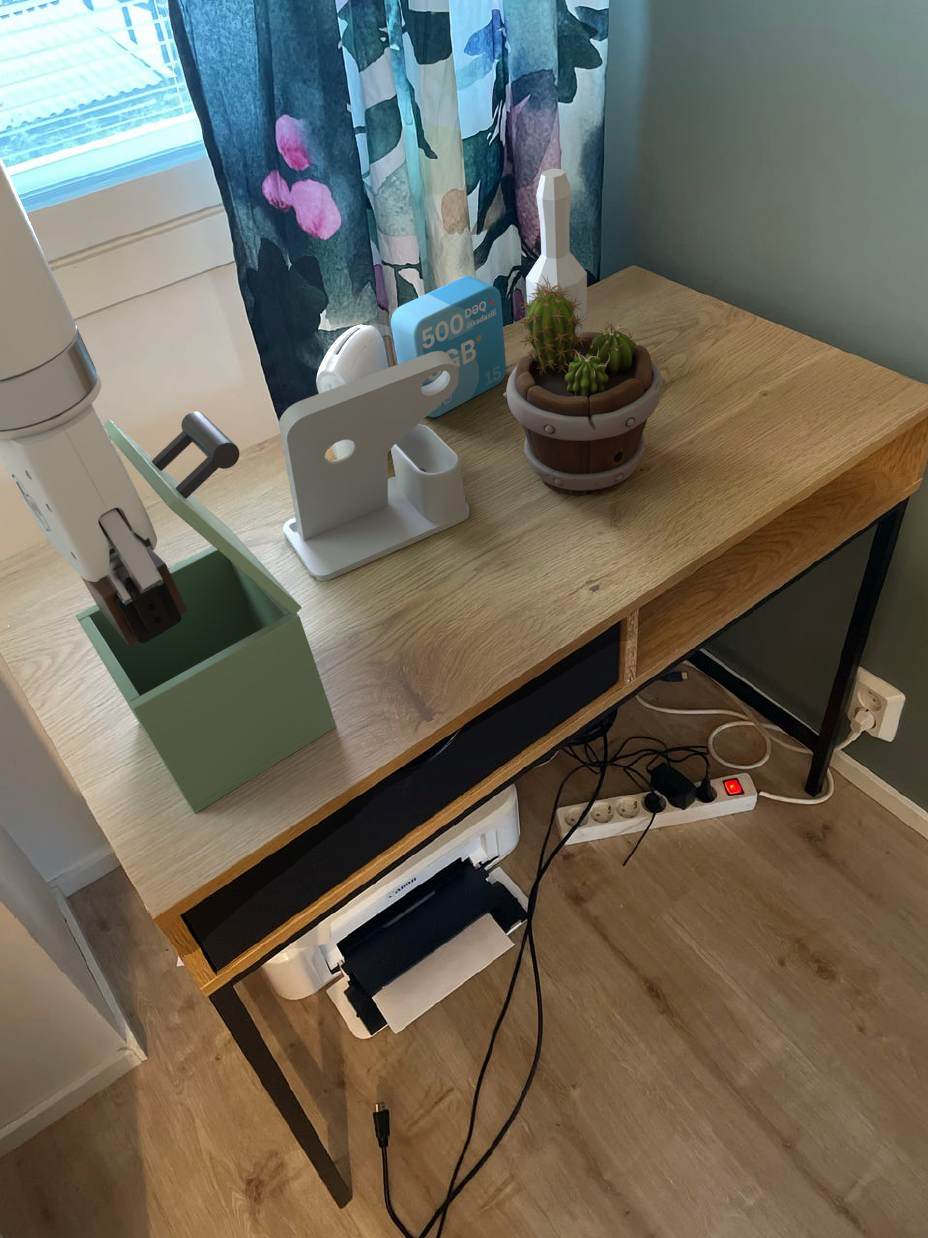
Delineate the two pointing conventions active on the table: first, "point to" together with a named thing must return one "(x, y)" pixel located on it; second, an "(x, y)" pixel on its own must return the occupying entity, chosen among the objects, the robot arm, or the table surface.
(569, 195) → the low poly bottle
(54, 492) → the robot arm
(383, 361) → the photo printer
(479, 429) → the table surface
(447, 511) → the phone holder
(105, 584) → the block
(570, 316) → the flowerpot
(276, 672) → the box
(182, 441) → the green box lid
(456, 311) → the data package
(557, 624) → the table surface
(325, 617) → the table surface
